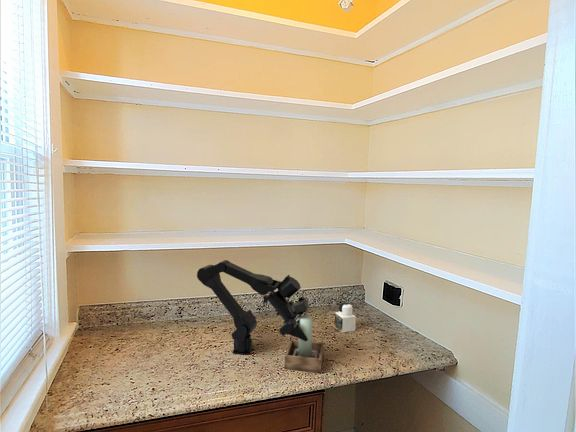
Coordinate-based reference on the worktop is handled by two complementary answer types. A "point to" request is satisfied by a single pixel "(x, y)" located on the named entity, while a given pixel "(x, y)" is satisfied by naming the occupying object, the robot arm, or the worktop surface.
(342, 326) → the medicine bottle
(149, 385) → the worktop surface
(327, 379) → the worktop surface
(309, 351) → the sage peg
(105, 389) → the worktop surface
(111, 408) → the worktop surface
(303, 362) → the walnut box
